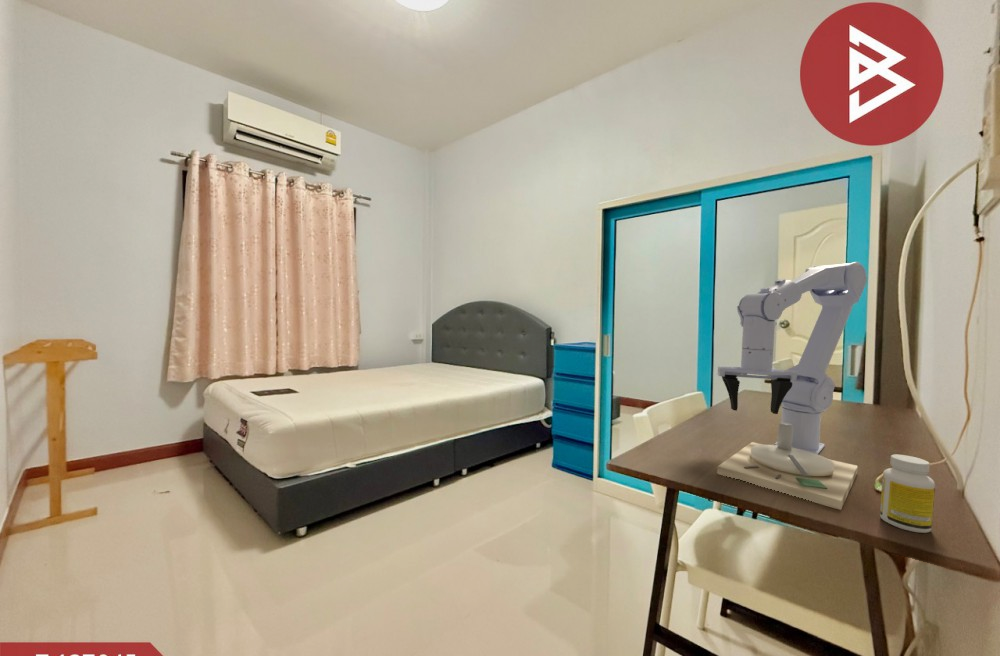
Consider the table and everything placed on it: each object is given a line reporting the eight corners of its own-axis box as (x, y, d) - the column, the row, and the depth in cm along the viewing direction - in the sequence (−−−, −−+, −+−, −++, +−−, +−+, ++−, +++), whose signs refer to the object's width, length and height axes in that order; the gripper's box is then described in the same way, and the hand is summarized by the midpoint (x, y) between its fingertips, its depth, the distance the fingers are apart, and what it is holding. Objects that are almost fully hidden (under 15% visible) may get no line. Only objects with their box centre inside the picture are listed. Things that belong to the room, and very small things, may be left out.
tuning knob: (855, 492, 65) (857, 454, 65) (760, 476, 70) (762, 441, 70) (821, 457, 81) (822, 426, 80) (746, 446, 86) (747, 418, 86)
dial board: (751, 448, 91) (752, 441, 91) (857, 473, 78) (857, 464, 78) (717, 473, 76) (717, 465, 76) (841, 510, 63) (841, 499, 63)
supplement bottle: (942, 536, 56) (948, 467, 55) (897, 531, 57) (902, 463, 57) (911, 517, 61) (916, 454, 61) (870, 512, 62) (874, 450, 62)
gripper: (724, 348, 85) (721, 412, 85) (804, 352, 81) (800, 419, 81) (716, 346, 91) (713, 404, 92) (790, 349, 87) (787, 411, 88)
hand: (753, 411), depth 87 cm, fingers open, 7 cm apart
